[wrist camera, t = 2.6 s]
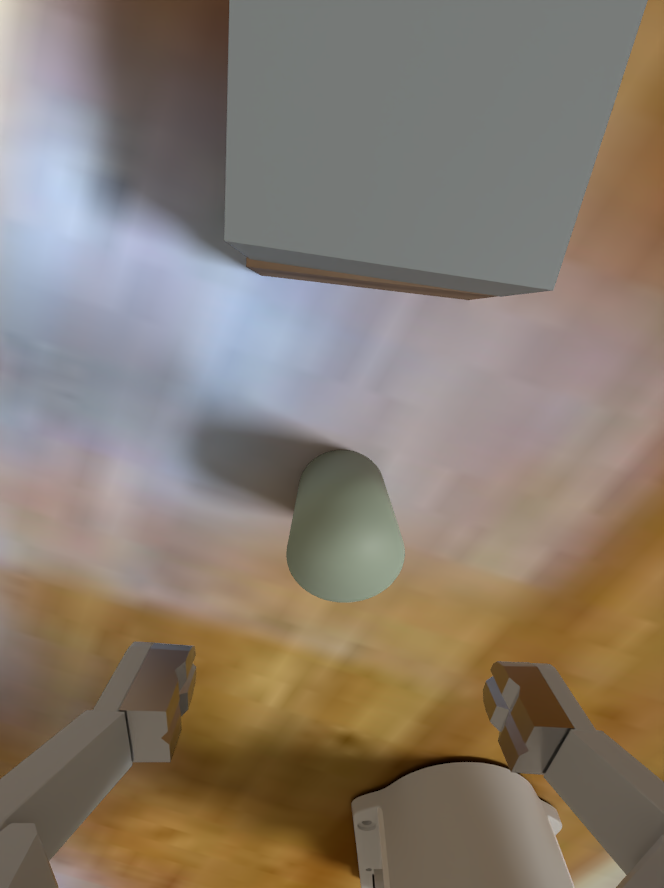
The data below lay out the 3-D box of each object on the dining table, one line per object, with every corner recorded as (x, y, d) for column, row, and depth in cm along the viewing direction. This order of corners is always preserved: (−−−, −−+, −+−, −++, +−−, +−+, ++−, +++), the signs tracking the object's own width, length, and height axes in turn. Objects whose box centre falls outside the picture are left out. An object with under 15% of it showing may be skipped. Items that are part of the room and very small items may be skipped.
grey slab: (500, 296, 14) (553, 290, 11) (250, 259, 13) (224, 240, 10) (600, -62, 10) (723, -235, 7) (268, -128, 10) (236, -348, 7)
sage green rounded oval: (377, 529, 21) (394, 606, 16) (296, 522, 21) (283, 597, 15) (390, 454, 19) (414, 511, 14) (302, 445, 19) (290, 499, 14)
